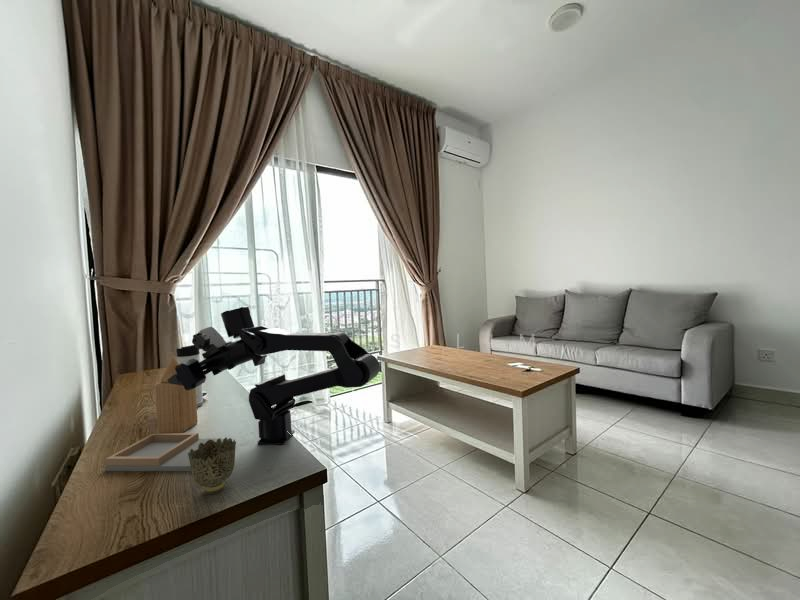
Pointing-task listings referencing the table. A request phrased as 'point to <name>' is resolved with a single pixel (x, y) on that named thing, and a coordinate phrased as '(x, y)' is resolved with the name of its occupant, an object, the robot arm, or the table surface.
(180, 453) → the display stand
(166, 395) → the decorative item
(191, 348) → the travel mug
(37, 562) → the table surface
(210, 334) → the robot arm
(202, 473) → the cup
